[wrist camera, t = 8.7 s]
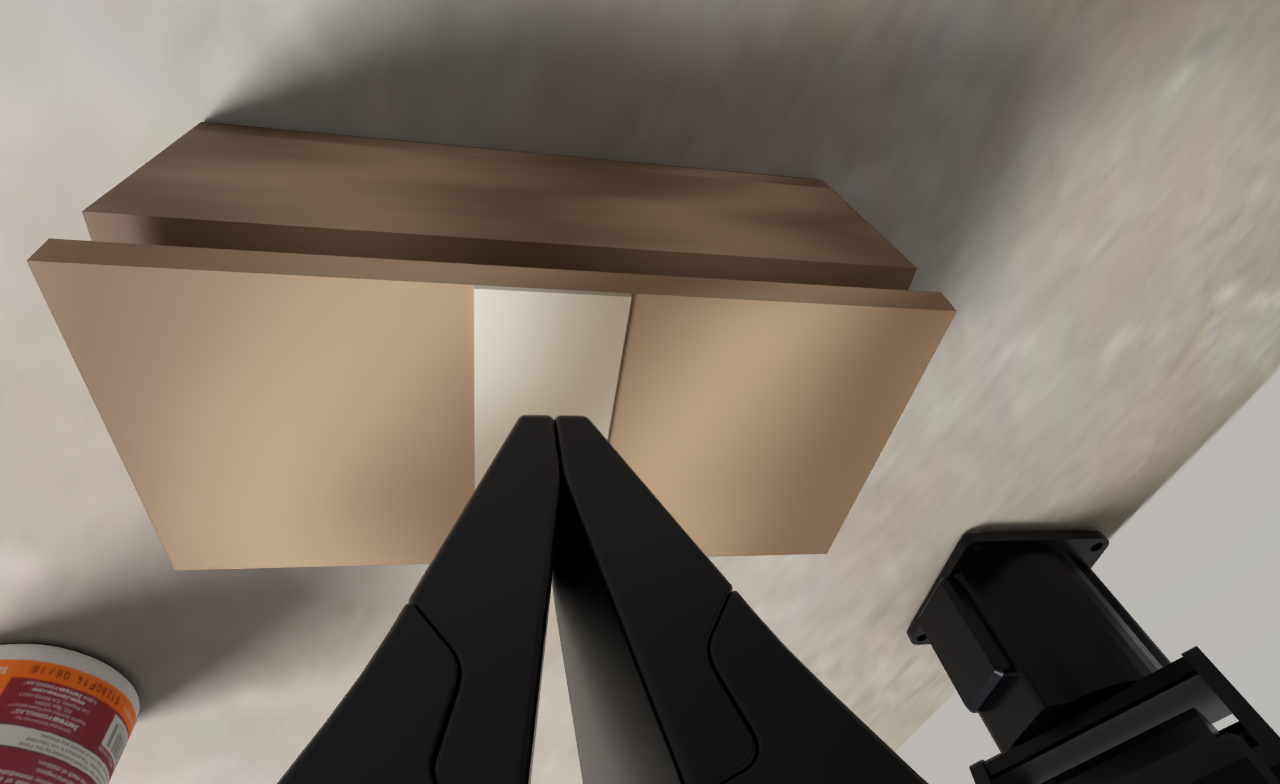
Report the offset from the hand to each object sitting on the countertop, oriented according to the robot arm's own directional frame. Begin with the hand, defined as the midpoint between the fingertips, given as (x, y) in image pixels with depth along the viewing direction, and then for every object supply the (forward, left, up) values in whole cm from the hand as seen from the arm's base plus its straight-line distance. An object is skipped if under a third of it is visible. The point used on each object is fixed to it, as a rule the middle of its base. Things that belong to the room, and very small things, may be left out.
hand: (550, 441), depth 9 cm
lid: (0, +3, -4) cm, 4 cm away
